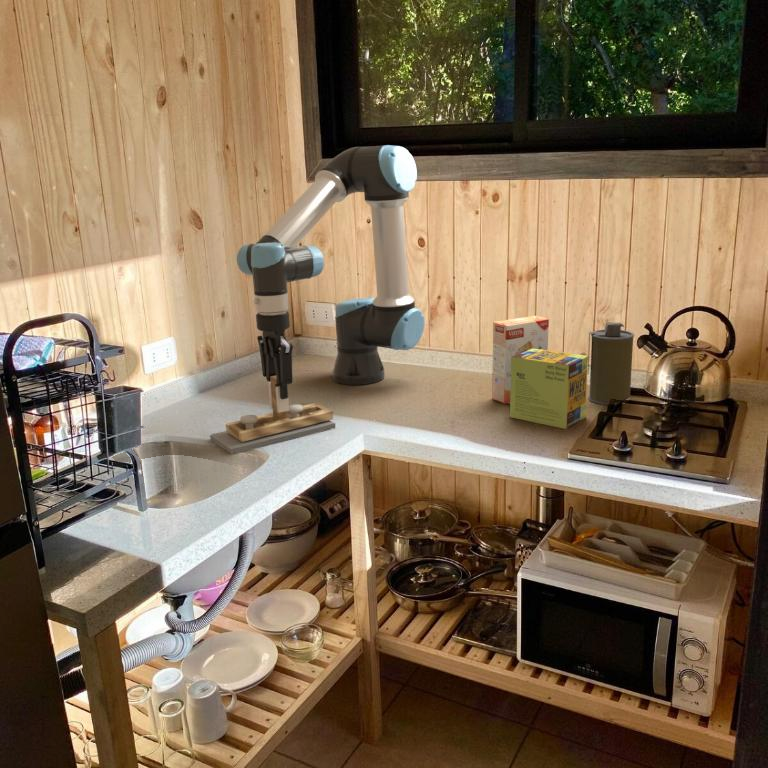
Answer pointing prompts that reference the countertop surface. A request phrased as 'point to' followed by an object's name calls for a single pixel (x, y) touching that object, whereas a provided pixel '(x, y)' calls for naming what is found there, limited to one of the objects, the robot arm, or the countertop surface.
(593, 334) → the canister
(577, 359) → the protein box
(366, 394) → the countertop surface
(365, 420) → the countertop surface
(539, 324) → the cracker box
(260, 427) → the ball track frame
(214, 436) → the board
